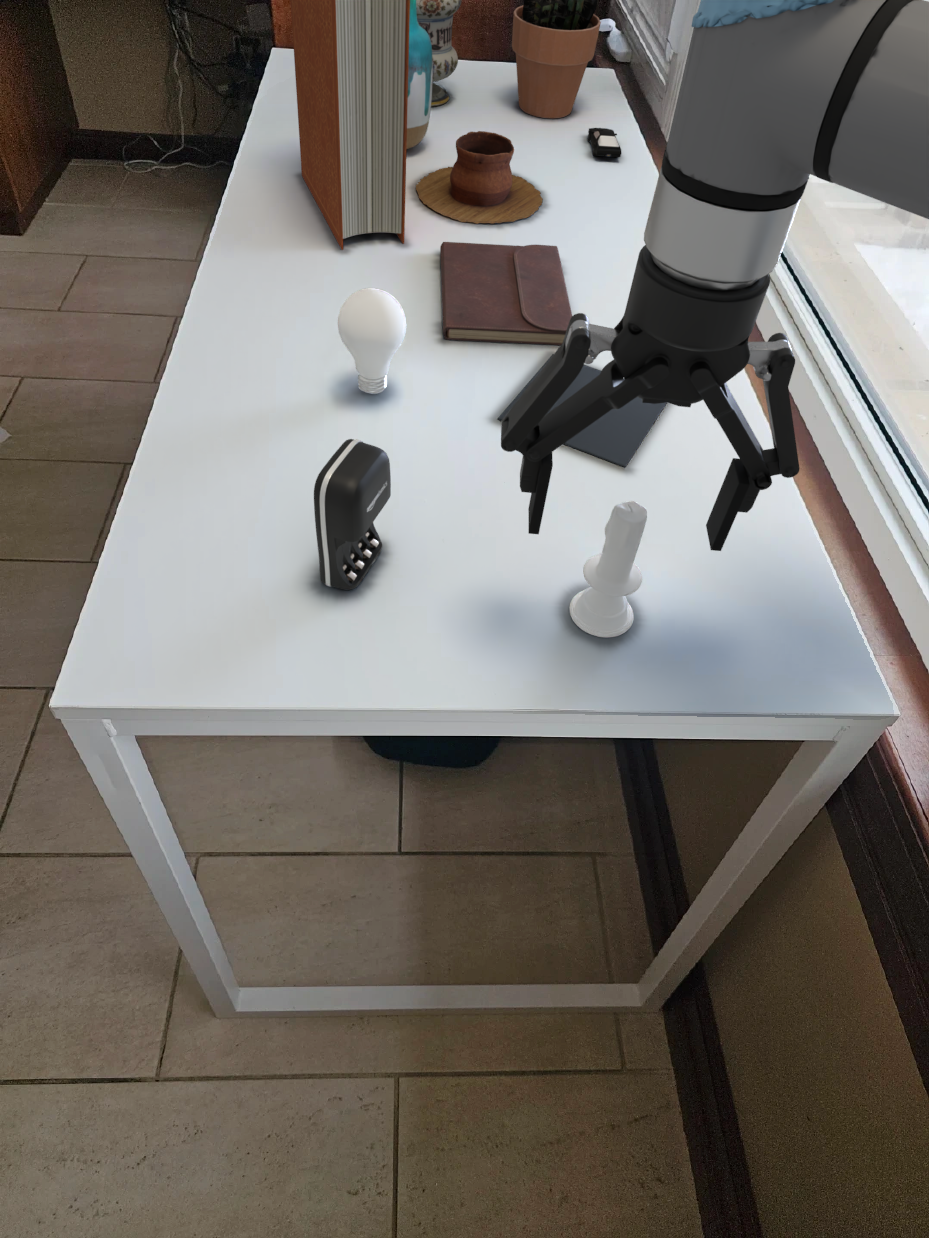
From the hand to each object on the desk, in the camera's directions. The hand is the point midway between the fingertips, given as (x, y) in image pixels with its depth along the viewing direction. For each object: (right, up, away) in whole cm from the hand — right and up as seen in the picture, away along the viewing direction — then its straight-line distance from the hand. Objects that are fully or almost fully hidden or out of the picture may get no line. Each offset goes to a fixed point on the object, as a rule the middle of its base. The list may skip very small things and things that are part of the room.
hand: (623, 530), depth 65 cm
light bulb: (-21, +17, +25) cm, 37 cm away
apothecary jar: (-19, +80, +79) cm, 114 cm away
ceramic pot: (-10, +53, +57) cm, 78 cm away
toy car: (+10, +67, +71) cm, 98 cm away
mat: (+1, +15, +26) cm, 30 cm away
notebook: (-7, +32, +39) cm, 51 cm away
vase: (-23, +64, +66) cm, 95 cm away
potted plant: (+2, +79, +80) cm, 112 cm away
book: (-27, +49, +52) cm, 76 cm away
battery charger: (-21, -2, +9) cm, 23 cm away
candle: (-1, -6, +7) cm, 10 cm away
